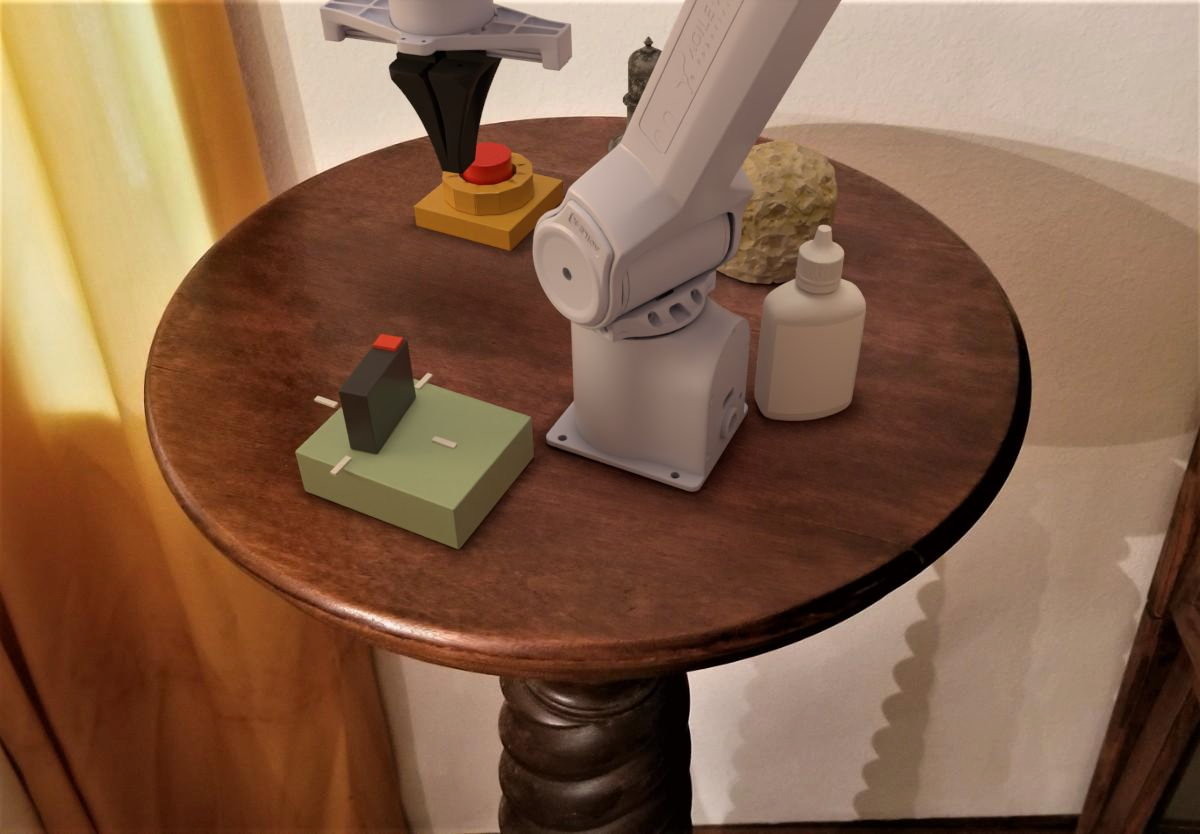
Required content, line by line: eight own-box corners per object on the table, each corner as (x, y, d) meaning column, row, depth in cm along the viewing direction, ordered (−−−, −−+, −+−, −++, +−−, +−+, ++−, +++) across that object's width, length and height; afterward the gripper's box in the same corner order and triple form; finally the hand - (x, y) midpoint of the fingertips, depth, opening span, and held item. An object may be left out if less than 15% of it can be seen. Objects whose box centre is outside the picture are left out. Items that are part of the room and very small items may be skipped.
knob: (377, 454, 61) (365, 392, 58) (350, 448, 61) (337, 387, 58) (416, 396, 64) (407, 336, 62) (390, 391, 65) (380, 330, 62)
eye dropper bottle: (842, 436, 66) (872, 258, 58) (747, 416, 67) (763, 241, 59) (855, 390, 69) (884, 215, 61) (763, 372, 70) (780, 200, 63)
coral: (711, 292, 77) (717, 191, 72) (687, 221, 84) (690, 125, 79) (845, 281, 78) (861, 181, 73) (810, 212, 85) (821, 116, 80)
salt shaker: (603, 173, 90) (601, 22, 82) (678, 168, 90) (683, 18, 82) (612, 212, 85) (611, 56, 77) (691, 206, 86) (697, 51, 78)
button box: (564, 199, 87) (562, 157, 84) (510, 251, 81) (507, 208, 79) (473, 177, 89) (469, 136, 87) (416, 226, 84) (410, 183, 82)
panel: (539, 450, 65) (537, 407, 63) (453, 558, 59) (446, 515, 57) (372, 394, 69) (364, 352, 67) (274, 489, 63) (262, 446, 61)
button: (521, 170, 84) (520, 148, 83) (496, 192, 81) (495, 170, 80) (479, 159, 85) (477, 138, 84) (453, 181, 83) (451, 159, 82)
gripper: (274, -56, 60) (320, 178, 69) (533, -28, 56) (546, 216, 65) (340, -96, 65) (375, 126, 74) (582, -73, 61) (588, 159, 70)
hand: (458, 165), depth 70 cm, fingers closed
